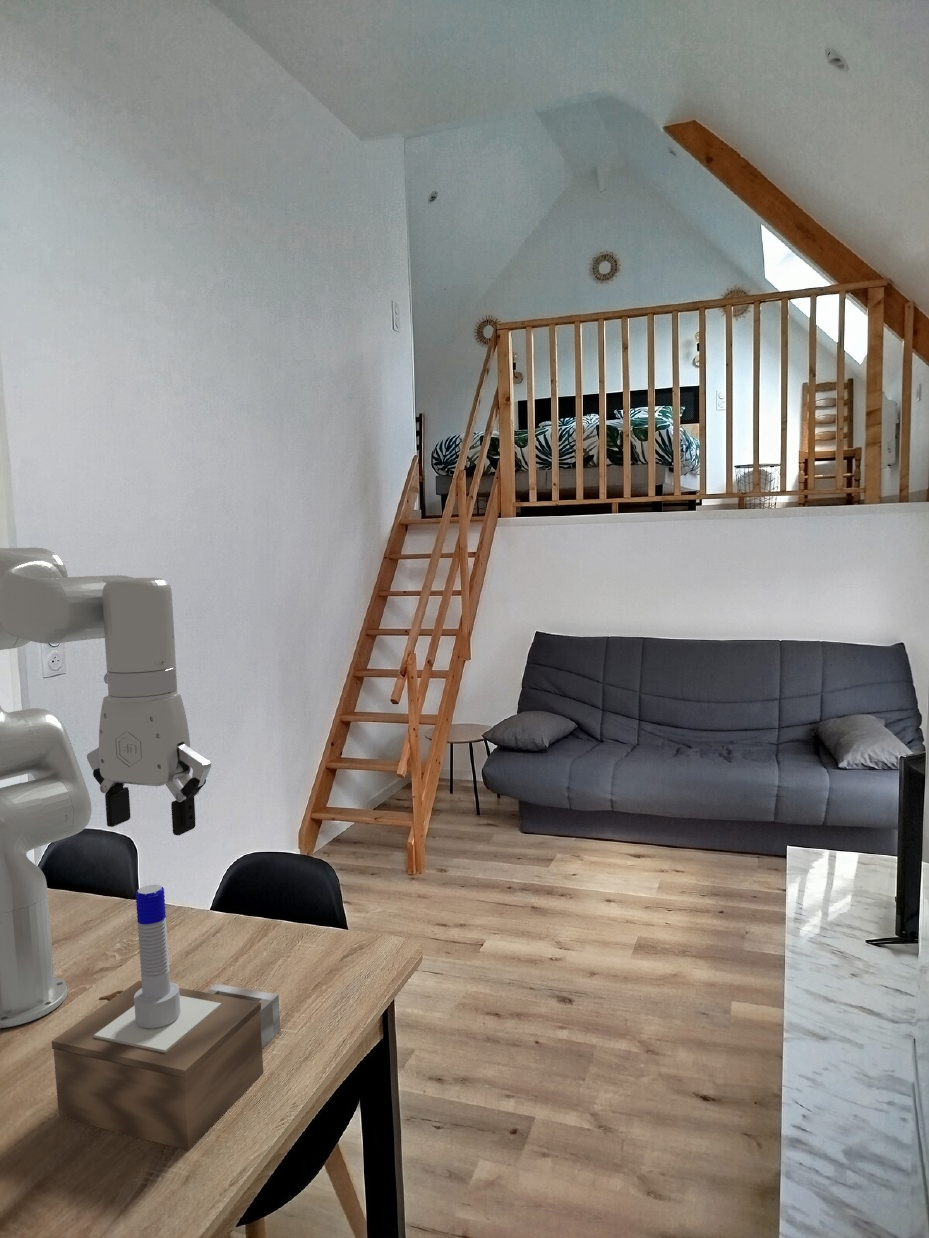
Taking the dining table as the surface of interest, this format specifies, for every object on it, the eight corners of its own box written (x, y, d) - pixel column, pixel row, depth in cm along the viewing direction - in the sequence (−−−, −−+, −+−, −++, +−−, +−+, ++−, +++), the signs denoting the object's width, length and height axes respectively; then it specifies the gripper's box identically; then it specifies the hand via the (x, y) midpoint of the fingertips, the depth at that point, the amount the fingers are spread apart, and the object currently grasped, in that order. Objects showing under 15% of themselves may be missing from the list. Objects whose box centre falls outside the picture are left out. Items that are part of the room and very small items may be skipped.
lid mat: (93, 1037, 96) (93, 1034, 96) (154, 993, 105) (154, 990, 105) (165, 1052, 92) (165, 1050, 92) (221, 1005, 102) (221, 1003, 102)
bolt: (187, 1005, 101) (171, 1029, 96) (145, 1006, 101) (128, 1030, 96) (178, 879, 100) (163, 897, 95) (137, 881, 100) (119, 898, 95)
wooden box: (57, 1116, 96) (51, 1040, 95) (186, 1012, 117) (182, 950, 116) (190, 1150, 90) (185, 1070, 89) (301, 1034, 111) (297, 968, 110)
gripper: (60, 686, 97) (70, 830, 99) (181, 692, 91) (189, 846, 93) (109, 676, 104) (117, 810, 106) (224, 681, 98) (231, 824, 100)
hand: (151, 827), depth 99 cm, fingers open, 9 cm apart
